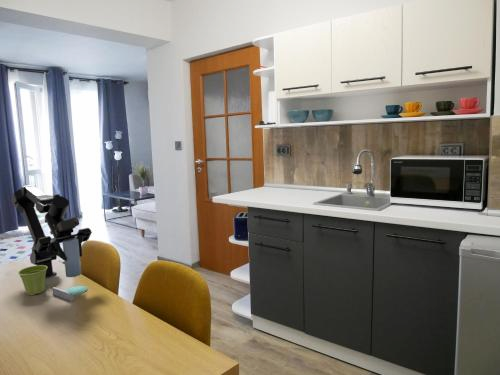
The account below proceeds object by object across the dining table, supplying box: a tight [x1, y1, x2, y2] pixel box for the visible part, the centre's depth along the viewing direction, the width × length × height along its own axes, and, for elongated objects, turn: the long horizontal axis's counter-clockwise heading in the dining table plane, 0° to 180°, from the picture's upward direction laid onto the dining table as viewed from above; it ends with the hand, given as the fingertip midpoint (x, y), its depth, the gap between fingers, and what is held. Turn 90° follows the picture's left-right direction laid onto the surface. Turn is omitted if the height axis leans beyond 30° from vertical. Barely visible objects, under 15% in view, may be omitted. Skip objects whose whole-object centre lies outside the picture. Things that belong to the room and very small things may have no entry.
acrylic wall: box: [51, 286, 75, 302], centre depth 134 cm, size 12×1×2 cm, turn 56°
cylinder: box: [61, 238, 82, 278], centre depth 138 cm, size 5×5×13 cm
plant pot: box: [17, 265, 47, 296], centre depth 139 cm, size 9×9×9 cm
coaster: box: [64, 285, 88, 296], centre depth 139 cm, size 8×8×1 cm
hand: (73, 258), depth 137 cm, fingers closed on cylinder, 5 cm apart
